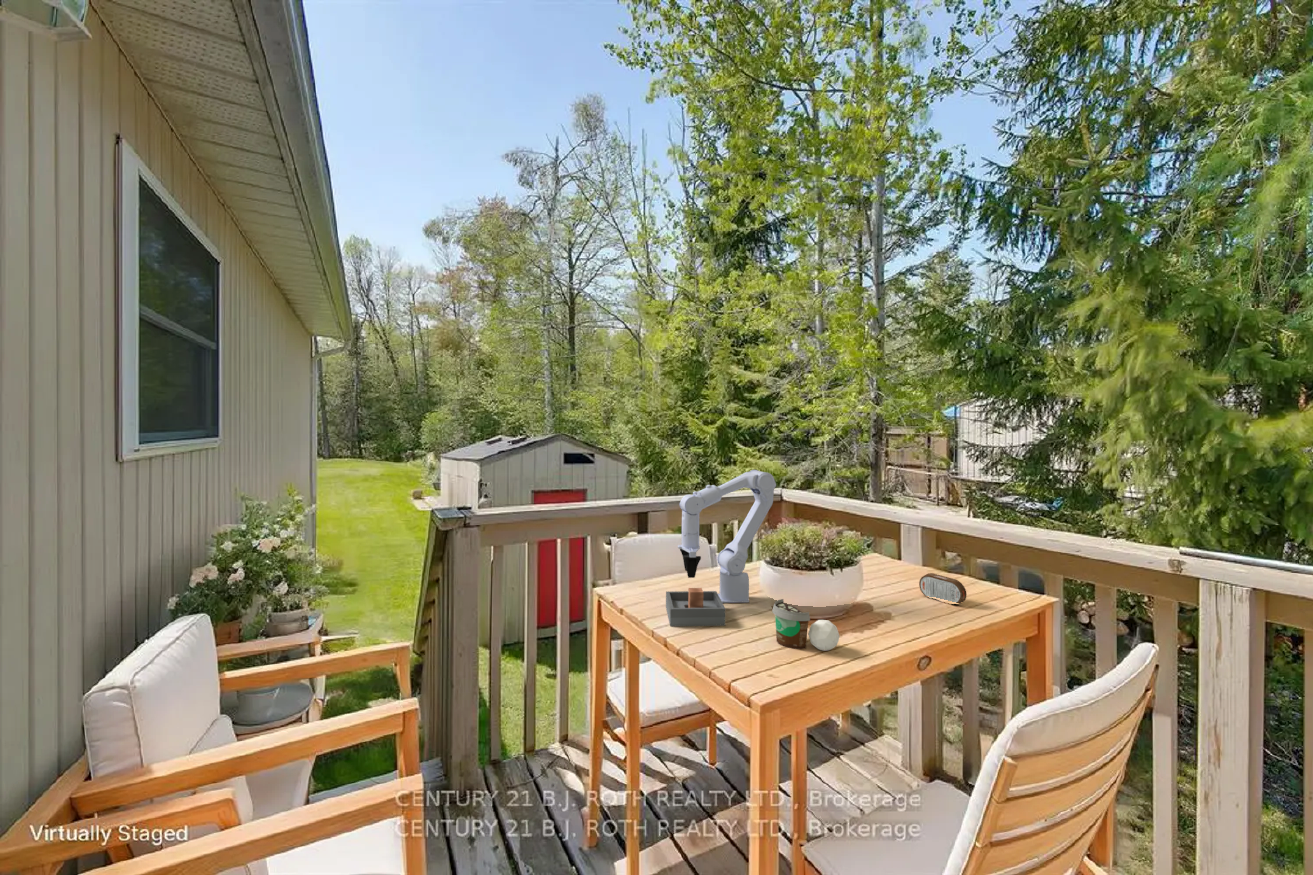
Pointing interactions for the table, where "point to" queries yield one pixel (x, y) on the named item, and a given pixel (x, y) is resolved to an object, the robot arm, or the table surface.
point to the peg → (695, 598)
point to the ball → (823, 635)
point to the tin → (942, 588)
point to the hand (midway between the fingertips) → (689, 573)
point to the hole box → (695, 610)
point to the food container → (790, 625)
